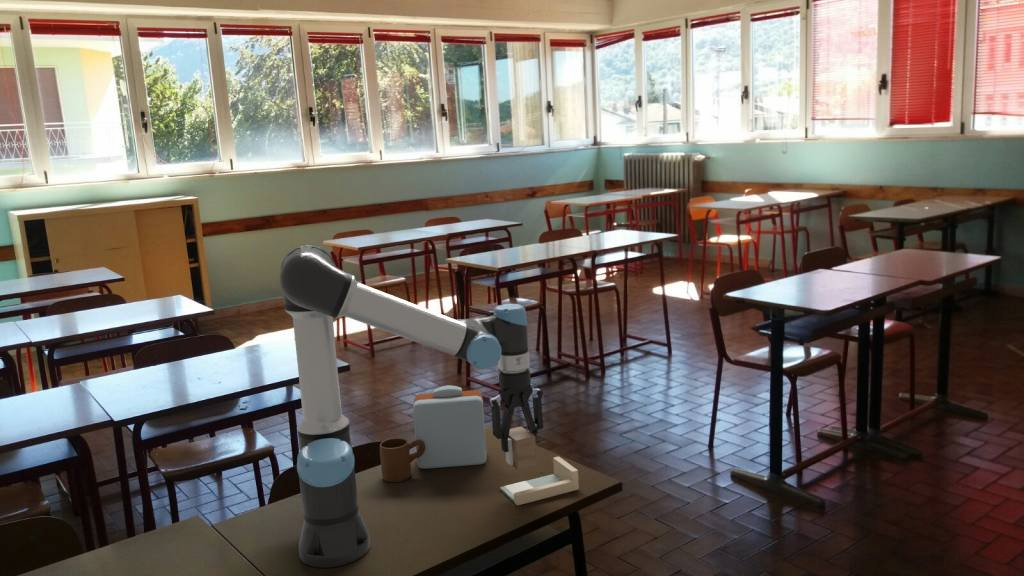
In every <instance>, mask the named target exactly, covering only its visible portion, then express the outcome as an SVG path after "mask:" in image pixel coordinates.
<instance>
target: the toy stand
mask: <svg viewBox="0 0 1024 576" xmlns="http://www.w3.org/2000/svg"><path fill="white" fill-rule="evenodd" d="M552 462H553V474H548V475H545V476H540V477H536V478H533V479H528V480H523V481H519V482H516V483H511V484H507V485H504V486H500V487H499V490H500V491H501V492H502V493H503V494H504V495H505V496H507V498H509V499H510V500H511V501H512V502H513V503H514V505H516V506H521V505H523V504H528V503H533V502H536V501H540V500H543V499H548V498H552V497H555V496H560V495H562V494H567V493H569V492H574V491H578V490H580V489H579V487H580V486H579V470H578V469H577V468H575V467H574V466H572V465H571V464H570V463H568V462H567V461H566V460H564V459H563V458H562V457H560V456H555V457H553V459H552Z"/></svg>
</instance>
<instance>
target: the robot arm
mask: <svg viewBox="0 0 1024 576" xmlns="http://www.w3.org/2000/svg"><path fill="white" fill-rule="evenodd" d="M279 284H280V285H279V286H280V289H281V291H282V294H283V295H282V296H283V304H284V311H285V312H286V313H287V314H289V316H290V317H291V318H292V323H293V330H294V331H293V333H294V342H295V343H294V344H295V352H296V361H297V371H298V381H299V382H298V383H299V389H300V390H299V391H300V400H301V410H302V420H301V421H300V422H299V423H298V424H297V426H296V427H297V428H296V429H297V437H298V449H299V452H298V454H297V462H296V471H297V474H298V479H299V488H300V497H301V505H302V506H301V507H302V515H303V525H302V529H301V533H300V538H299V542H298V553H299V558H300V561H301V562H302V563H303V564H305V565H307V566H310V567H313V568H324V569H325V568H327V569H328V568H334V567H335V568H336V567H340V566H344V565H347V564H350V563H354V562H355V561H357V560H359V559H361V558H362V557H363V556H365V555H366V554H367V553H368V551H369V550H370V548H371V537H370V532H369V530H368V528H367V526H366V524H365V521H364V520H363V517H362V516H361V513H360V510H359V500H358V489H357V480H356V470H355V463H356V462H355V461H356V460H355V455H354V452H353V445H352V444H353V443H352V439H351V427H350V420H349V418H348V417H347V416H345V415H344V414H343V413H342V404H341V392H340V383H339V382H340V380H339V370H338V369H339V368H338V361H337V350H336V341H335V339H336V338H335V328H334V320H333V318H334V319H339V318H341V317H346V318H349V319H352V320H353V321H357V322H359V323H362V324H365V325H368V326H371V327H374V328H376V329H378V330H382V331H385V332H387V333H390V334H392V335H396V336H399V337H401V338H404V339H407V340H409V341H412V342H415V343H416V344H420V345H423V346H426V347H429V348H432V349H433V350H437V351H440V352H442V353H445V354H448V355H449V356H450V355H451V356H454V357H456V358H458V359H460V360H464V361H466V362H468V363H469V364H470V365H471V366H473V367H474V368H476V369H479V370H490V369H491V368H493V367H495V366H496V365H497V368H498V370H499V371H498V382H499V383H498V384H499V391H498V395H496V396H494V397H493V396H492V397H491V396H490V397H489V398H488V402H489V406H490V408H491V410H490V411H491V424H492V425H491V426H492V435H493V436H494V437H495V438H496V439H498V440H500V444H501V450H502V452H503V453H504V452H505V453H504V455H505V454H506V460H505V462H506V464H508V465H509V466H512V465H513V453H512V439H510V438H509V432H510V429H511V426H512V420H513V419H512V418H513V415H514V413H515V409H516V408H517V407H520V409H521V411H522V414H523V417H524V421H525V424H526V426H527V431H528V432H530V433H531V434H533V435H534V436H535V440H536V445H537V439H538V438H537V435H538V433H539V431H540V430H543V429H544V418H543V404H542V398H543V394H544V391H543V390H542V389H540V388H538V387H535V388H533V387H532V384H531V382H532V380H531V369H530V366H531V365H530V364H531V363H530V351H529V350H530V349H529V337H528V336H529V335H528V325H529V324H528V319H527V310H526V308H525V307H524V306H523V305H522V304H519V303H518V304H517V303H504V304H499V305H497V306H495V308H494V309H493V315H489V316H481V317H472V318H463V319H461V318H458V319H456V318H455V319H454V318H451V317H449V316H447V315H444V314H441V313H440V312H436V311H434V310H431V309H429V308H426V307H424V306H422V305H418V304H416V303H412V302H410V301H407V300H405V299H402V298H400V297H398V296H395V295H392V294H390V293H386V292H384V291H382V290H379V289H376V288H374V287H371V286H368V285H366V284H363V283H360V282H359V281H357V280H356V277H355V275H354V274H351V273H348V272H346V271H344V270H342V269H341V268H338V267H337V266H336V263H335V261H334V259H333V257H332V256H331V254H330V253H329V252H327V251H326V250H324V249H322V248H321V247H318V246H315V245H301V246H298V247H296V248H294V249H292V250H291V251H289V252H288V253H287V254H286V255H285V257H284V258H283V260H282V262H281V265H280V273H279ZM531 396H532V408H533V414H532V411H531V409H530V408H531V406H530V402H529V399H530V397H531ZM501 401H502V402H503V415H502V421H501V409H500V408H501V407H500V406H501Z"/></svg>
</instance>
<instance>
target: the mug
mask: <svg viewBox="0 0 1024 576" xmlns="http://www.w3.org/2000/svg"><path fill="white" fill-rule="evenodd" d="M416 445H419V450H418V451H413V452H412V453H410V450H412V449H413V448H414V447H416ZM424 451H425V444H424V442H423V441H422V440H419V439H413V440H411V441H410V442H409V441H408V440H407V439H406V438H402V437H401V438H399V437H396V438H395V437H394V438H393V437H392V438H389V439H388V438H387V439H385V440H383V441H382V442H381V443H380V444H379V458H380V459H379V460H380V468H381V476H382V479H383V480H384V481H385V482H388V483H399V482H400V483H401V482H403V481H406V480H408V479H409V478H410V477H411V476H412V466H411V463H412V462H413V461H415V459H416V460H417V458H419V457H420V456H422V454H423V453H424Z"/></svg>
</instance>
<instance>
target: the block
mask: <svg viewBox="0 0 1024 576" xmlns="http://www.w3.org/2000/svg"><path fill="white" fill-rule="evenodd" d="M528 431H529V430H528V429H526V428H524V427H523V426H517V427H512V428H510V432H509V438H510V439H512V453H513V465H511V466H513V468H515V470H517V471H522V470H526V469H530V468H534V467H537V466H538V458H537V444H536V440H535V436H534V435H533V434H531V433H530V432H528ZM503 453H504V460H505V461H506V454H505V452H504V451H503Z"/></svg>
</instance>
